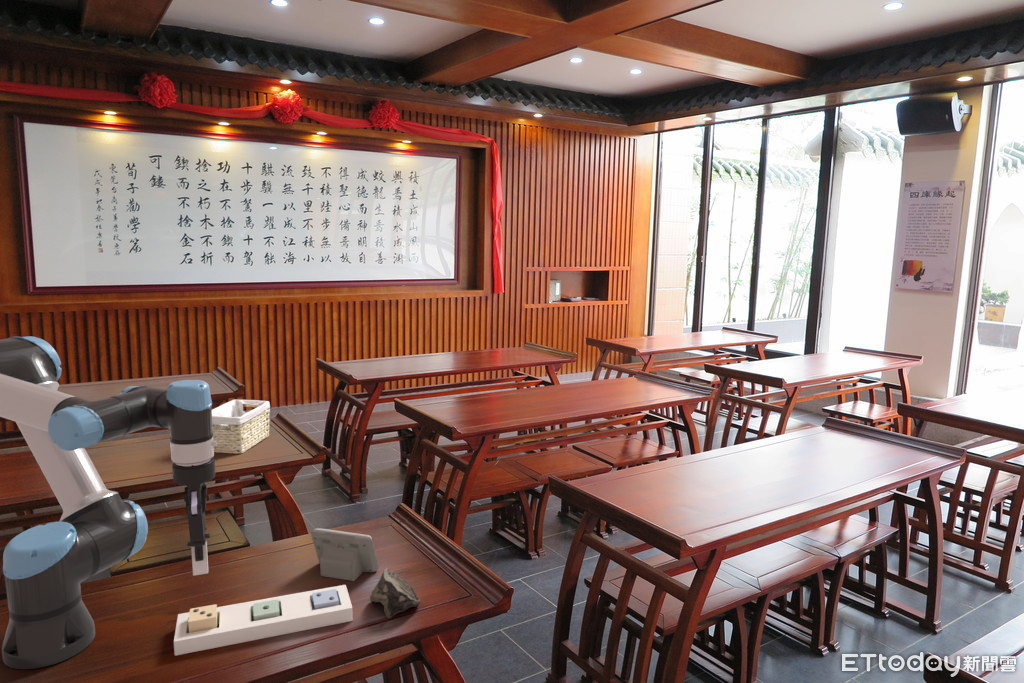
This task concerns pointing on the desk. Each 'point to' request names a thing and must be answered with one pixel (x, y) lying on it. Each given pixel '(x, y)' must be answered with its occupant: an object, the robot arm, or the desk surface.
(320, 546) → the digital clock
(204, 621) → the tile three
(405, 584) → the grey rock
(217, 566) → the desk surface
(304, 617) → the tile panel
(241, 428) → the storage basket
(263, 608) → the tile one
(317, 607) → the tile two
